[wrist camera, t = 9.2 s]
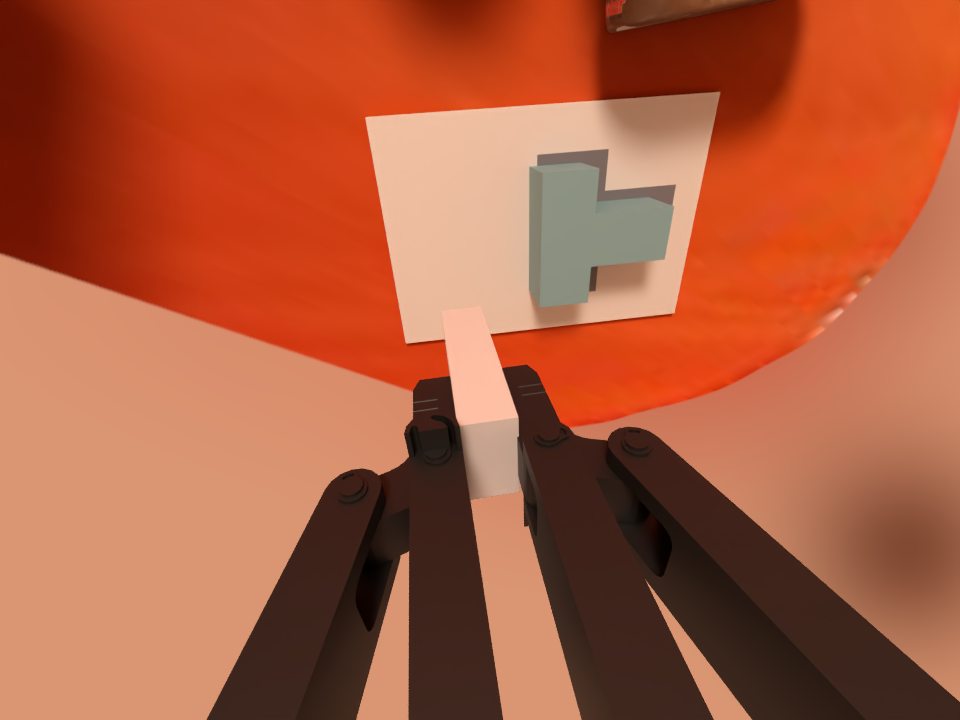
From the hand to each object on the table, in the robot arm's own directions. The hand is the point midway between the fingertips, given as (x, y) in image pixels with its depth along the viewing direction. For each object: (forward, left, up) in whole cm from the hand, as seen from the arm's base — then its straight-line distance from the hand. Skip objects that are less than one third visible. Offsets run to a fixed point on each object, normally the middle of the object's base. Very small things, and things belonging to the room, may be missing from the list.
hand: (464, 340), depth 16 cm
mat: (+1, +8, -20) cm, 22 cm away
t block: (+1, +12, -20) cm, 23 cm away
